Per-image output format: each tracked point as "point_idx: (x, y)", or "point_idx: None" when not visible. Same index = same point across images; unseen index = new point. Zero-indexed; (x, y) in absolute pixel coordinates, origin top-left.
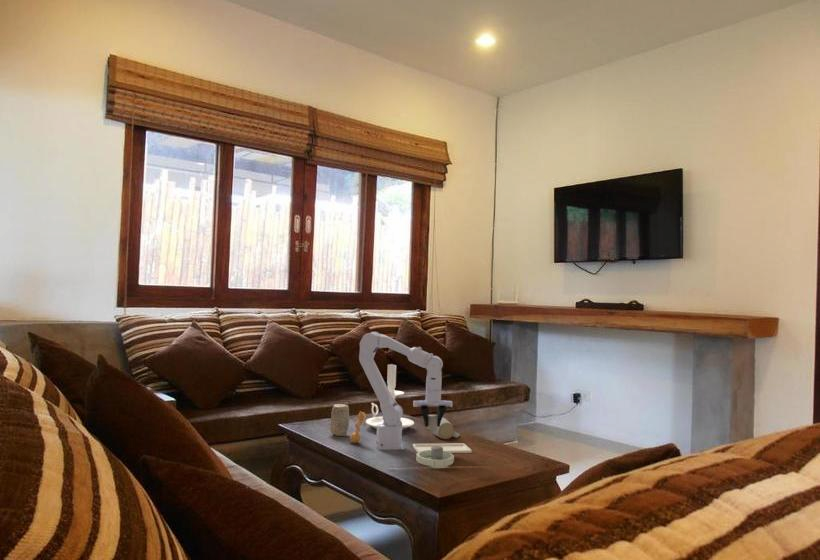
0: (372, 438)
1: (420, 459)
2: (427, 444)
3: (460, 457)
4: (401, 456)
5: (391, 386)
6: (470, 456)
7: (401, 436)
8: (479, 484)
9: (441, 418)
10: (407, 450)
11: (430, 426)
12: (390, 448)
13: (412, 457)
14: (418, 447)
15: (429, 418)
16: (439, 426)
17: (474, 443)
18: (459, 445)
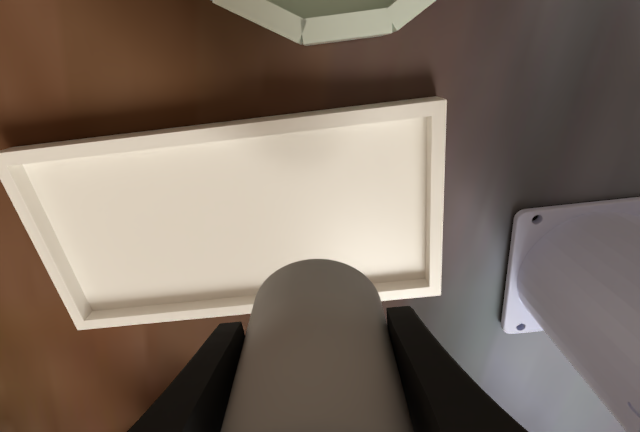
0: (617, 425)
1: None
2: None
3: (91, 52)
4: (582, 53)
5: None
6: (12, 88)
7: (577, 302)
8: None
9: (143, 417)
10: (484, 218)
11: (350, 296)
12: (621, 213)
13: (499, 27)
14: (403, 257)
15: (386, 404)
16: (219, 324)
17: (35, 380)
18: (113, 310)
